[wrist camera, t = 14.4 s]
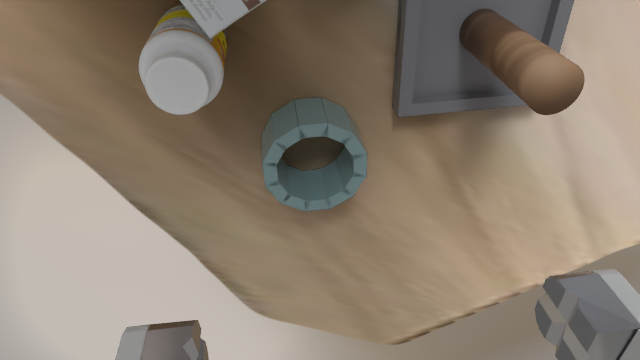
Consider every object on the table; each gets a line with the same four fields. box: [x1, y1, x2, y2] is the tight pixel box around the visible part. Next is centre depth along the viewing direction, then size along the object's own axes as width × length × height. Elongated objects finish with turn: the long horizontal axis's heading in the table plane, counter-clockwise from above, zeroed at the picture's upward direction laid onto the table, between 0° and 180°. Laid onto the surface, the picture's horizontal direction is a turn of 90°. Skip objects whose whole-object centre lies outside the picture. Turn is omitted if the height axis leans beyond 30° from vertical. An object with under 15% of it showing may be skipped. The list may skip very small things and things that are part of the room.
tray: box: [392, 0, 574, 117], centre depth 38 cm, size 14×14×2 cm
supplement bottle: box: [139, 4, 227, 115], centre depth 33 cm, size 6×6×10 cm
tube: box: [261, 97, 367, 211], centre depth 42 cm, size 9×9×5 cm
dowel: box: [459, 9, 584, 115], centre depth 33 cm, size 4×4×12 cm
